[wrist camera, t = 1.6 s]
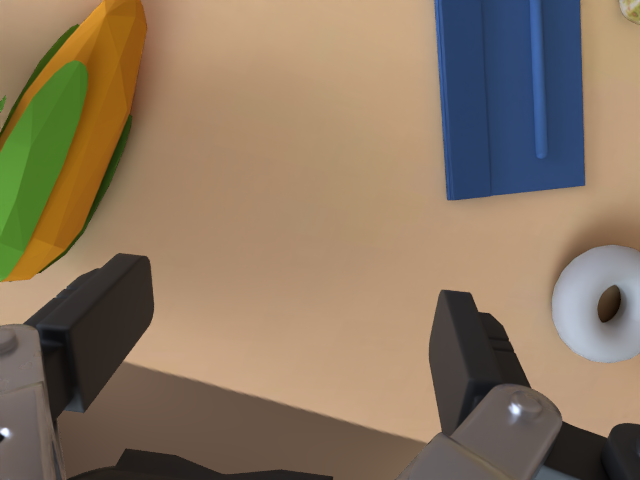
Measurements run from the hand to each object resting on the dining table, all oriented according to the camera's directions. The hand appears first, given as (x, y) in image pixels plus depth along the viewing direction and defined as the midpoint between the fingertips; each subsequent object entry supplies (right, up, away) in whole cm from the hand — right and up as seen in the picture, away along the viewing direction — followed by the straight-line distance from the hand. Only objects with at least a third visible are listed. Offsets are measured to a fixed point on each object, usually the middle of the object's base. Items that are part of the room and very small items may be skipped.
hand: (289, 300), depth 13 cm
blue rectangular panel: (+16, +16, +24) cm, 33 cm away
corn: (-16, +9, +20) cm, 27 cm away
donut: (+25, -3, +28) cm, 37 cm away
